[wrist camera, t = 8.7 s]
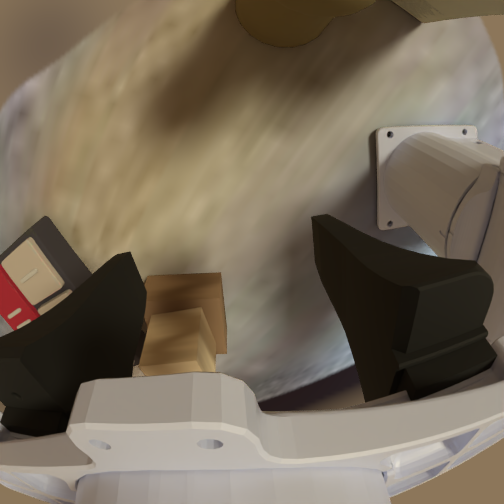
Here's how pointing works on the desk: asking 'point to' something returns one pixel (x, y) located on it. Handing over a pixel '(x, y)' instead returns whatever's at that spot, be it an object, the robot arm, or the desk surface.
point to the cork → (292, 18)
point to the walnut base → (189, 300)
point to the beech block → (178, 344)
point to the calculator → (41, 276)
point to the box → (450, 8)
